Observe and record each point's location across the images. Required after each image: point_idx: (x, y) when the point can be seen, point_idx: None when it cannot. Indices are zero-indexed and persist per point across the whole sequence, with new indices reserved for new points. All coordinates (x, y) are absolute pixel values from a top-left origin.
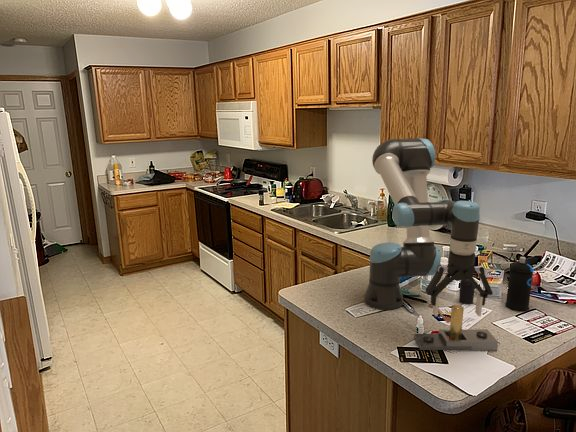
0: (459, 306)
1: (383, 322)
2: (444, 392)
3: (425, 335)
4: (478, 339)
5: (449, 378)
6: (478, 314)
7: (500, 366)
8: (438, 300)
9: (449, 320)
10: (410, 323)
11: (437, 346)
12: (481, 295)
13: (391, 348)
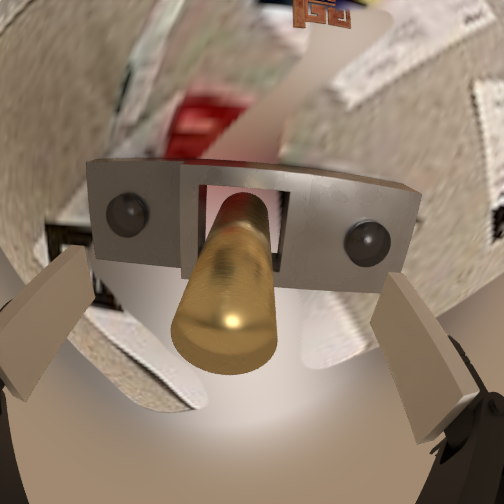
0: (248, 329)
1: (34, 54)
2: (145, 396)
3: (123, 177)
4: (332, 272)
5: (163, 371)
6: (373, 328)
7: (327, 347)
8: (35, 381)
9: (314, 12)
10: (117, 37)
11: (152, 264)
12: (450, 429)
13: (33, 231)
